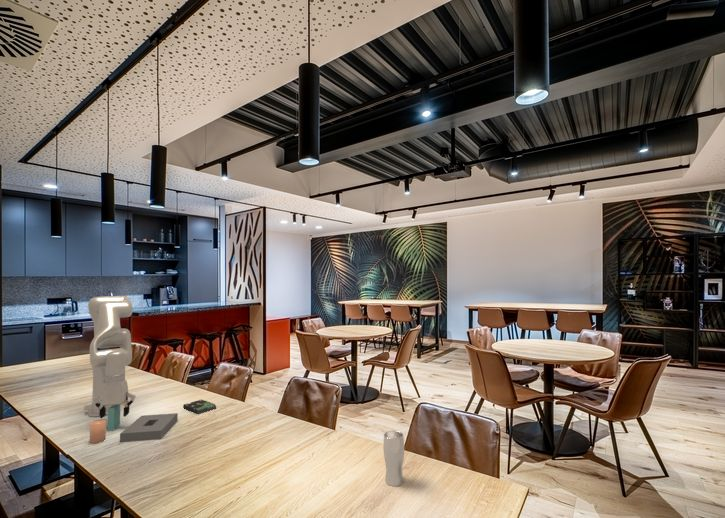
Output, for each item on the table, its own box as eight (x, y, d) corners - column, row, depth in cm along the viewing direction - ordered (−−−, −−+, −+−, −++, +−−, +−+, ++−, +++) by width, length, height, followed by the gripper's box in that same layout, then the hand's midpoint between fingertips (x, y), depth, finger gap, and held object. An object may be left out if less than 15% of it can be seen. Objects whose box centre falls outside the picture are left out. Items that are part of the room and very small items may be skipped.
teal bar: (107, 431, 160) (108, 408, 160) (114, 426, 165) (114, 404, 166) (113, 430, 160) (114, 408, 161) (119, 425, 165) (120, 403, 166)
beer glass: (382, 475, 121) (381, 430, 121) (402, 474, 121) (401, 429, 122) (385, 487, 114) (384, 439, 115) (406, 486, 114) (406, 438, 115)
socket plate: (119, 442, 148) (120, 433, 149) (141, 423, 168) (141, 415, 168) (160, 438, 151) (161, 430, 151) (177, 420, 171) (177, 413, 171)
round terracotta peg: (86, 444, 146) (87, 424, 147) (94, 438, 152) (94, 419, 152) (101, 443, 147) (101, 423, 148) (108, 437, 153) (108, 418, 153)
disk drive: (182, 410, 186) (198, 415, 178) (182, 404, 187) (198, 409, 178) (201, 404, 195) (216, 409, 186) (201, 399, 195) (216, 403, 187)
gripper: (89, 381, 159) (88, 421, 157) (131, 379, 161) (131, 417, 160) (99, 377, 166) (98, 415, 165) (139, 375, 169) (138, 411, 167)
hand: (114, 416), depth 162 cm, fingers open, 9 cm apart
